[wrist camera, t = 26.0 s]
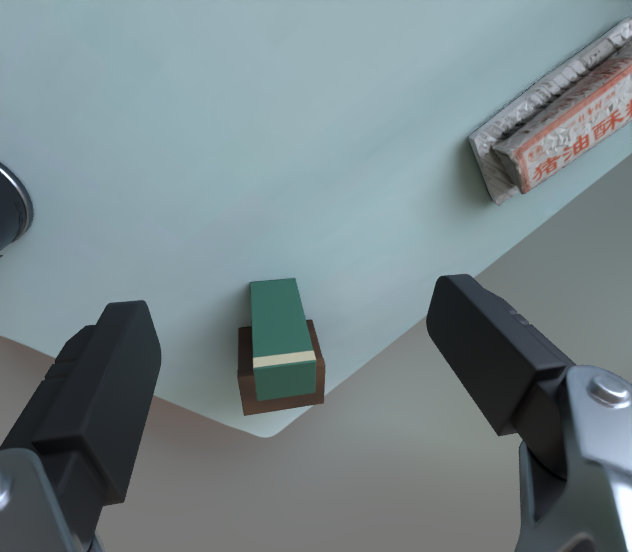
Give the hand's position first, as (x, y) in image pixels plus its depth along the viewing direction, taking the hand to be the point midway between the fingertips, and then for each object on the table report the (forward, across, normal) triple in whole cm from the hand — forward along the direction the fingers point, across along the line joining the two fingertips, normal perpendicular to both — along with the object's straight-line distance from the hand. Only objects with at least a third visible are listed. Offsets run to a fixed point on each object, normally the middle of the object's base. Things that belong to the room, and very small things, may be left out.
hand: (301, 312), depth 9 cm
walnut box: (+27, -1, +27) cm, 38 cm away
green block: (+20, -1, +19) cm, 27 cm away
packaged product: (+27, -32, -2) cm, 42 cm away
